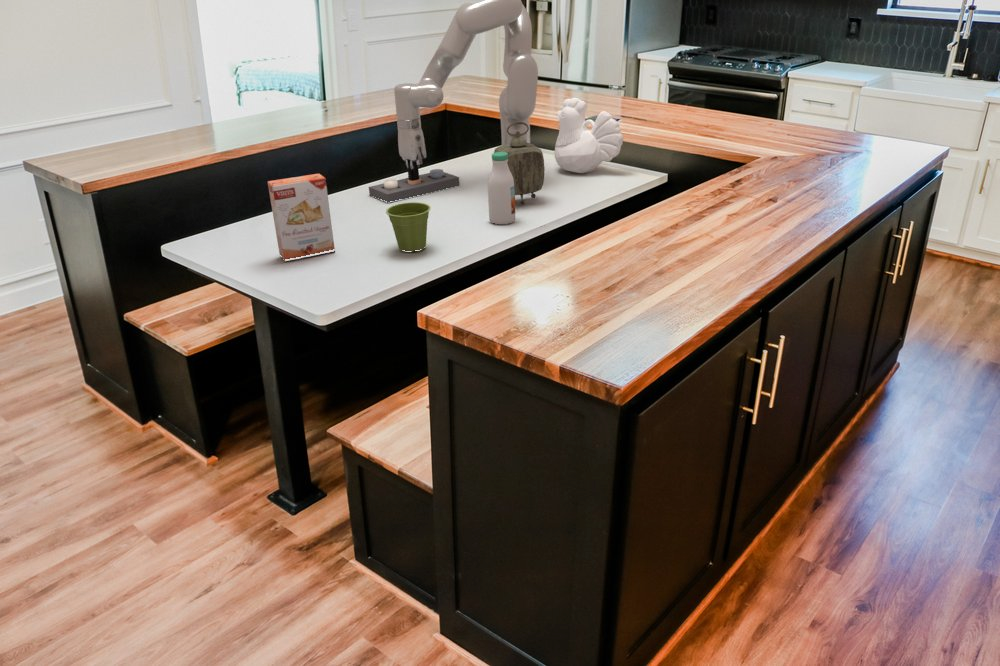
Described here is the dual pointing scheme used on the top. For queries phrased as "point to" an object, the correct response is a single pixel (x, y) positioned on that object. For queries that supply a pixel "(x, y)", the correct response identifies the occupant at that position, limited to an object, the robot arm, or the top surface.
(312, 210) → the cracker box
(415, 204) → the plant pot
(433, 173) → the slate blue button
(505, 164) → the milk bottle
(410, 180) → the terracotta button
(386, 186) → the cream button
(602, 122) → the decorative rooster
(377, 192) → the button panel
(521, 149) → the tabletop clock
